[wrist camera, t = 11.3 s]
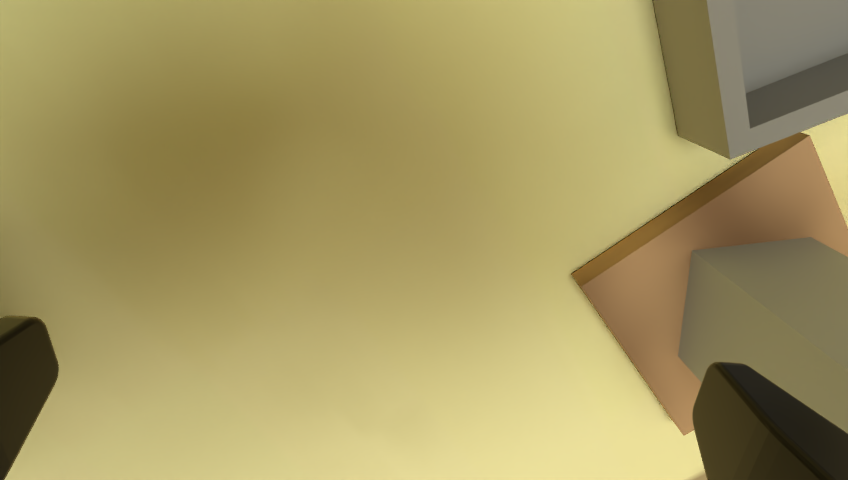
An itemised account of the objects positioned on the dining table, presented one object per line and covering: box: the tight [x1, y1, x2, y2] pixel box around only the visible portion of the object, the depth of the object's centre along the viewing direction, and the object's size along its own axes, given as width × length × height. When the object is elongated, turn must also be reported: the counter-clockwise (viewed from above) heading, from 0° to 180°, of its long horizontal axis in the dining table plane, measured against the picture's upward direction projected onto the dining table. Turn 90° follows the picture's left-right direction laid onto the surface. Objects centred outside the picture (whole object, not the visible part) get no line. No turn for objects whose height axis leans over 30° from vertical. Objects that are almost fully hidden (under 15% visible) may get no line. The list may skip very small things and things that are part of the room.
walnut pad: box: [572, 132, 848, 435], centre depth 22 cm, size 9×9×1 cm
